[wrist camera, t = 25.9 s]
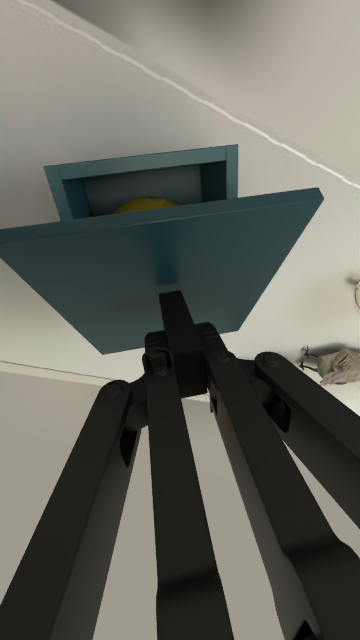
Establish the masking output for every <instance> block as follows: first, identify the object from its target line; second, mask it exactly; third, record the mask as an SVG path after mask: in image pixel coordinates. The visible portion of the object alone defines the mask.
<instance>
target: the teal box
mask: <svg viewBox="0 0 360 640" xmlns="http://www.w3.org/2000/svg"><path fill="white" fill-rule="evenodd" d="M44 170H45V173H46V176H47V179H48V182H49V185H50V188H51V191H52V194H53V197H54V201H55V204H56V207H57V210H58V213H59V216H60V219H61V221H67V220H75V219H82V218H90V217H97V216H105V215H111V214H112V213H114V212H115V211H116V210H117V209H118V208H119V207H120V206H122V205H123V204H125V203H126V202H129V201H131V200H133V199H137V198H140V197H162V198H165V199H168V200H170V201H172V202H174V203H176V204H178V205H179V206H181V205H188V204H196V203H203V202H211V201H219V200H226V199H234V198H237V196H238V144H236V145H227V146H218V147H210V148H201V149H192V150H183V151H174V152H166V153H157V154H148V155H139V156H130V157H122V158H113V159H104V160H95V161H86V162H78V163H69V164H60V165H51V166H44Z"/></svg>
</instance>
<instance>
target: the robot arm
mask: <svg viewBox="0 0 360 640" xmlns="http://www.w3.org/2000/svg"><path fill="white" fill-rule="evenodd" d="M158 295H159V302H160V308H161V314H162V321H163V327H164V330H161V331H155V332H149V333H147V335H146V337H145V338H144V341H145V353H144V354H143V356H142V362H143V366H144V371H145V373H144V374H143V376H142V377H140V378H139V379H138V380H136V381H134V382H132V383H128V382H126V381H124V380H114V381H111V382H109V383H107V384H106V385H104V386H103V387H102V388H101V390H100V391H99V393H98V395H97V398H96V400H95V402H94V404H93V406H92V408H91V410H90V413H89V415H88V417H87V419H86V422H85V424H84V426H83V428H82V430H81V432H80V434H79V437H78V439H77V441H76V443H75V445H74V447H73V449H72V452H71V454H70V456H69V458H68V460H67V462H66V464H65V467H64V469H63V471H62V473H61V476H60V478H59V480H58V482H57V484H56V486H55V488H54V490H53V493H52V495H51V497H50V499H49V501H48V504H47V506H46V508H45V510H44V512H43V514H42V516H41V519H40V521H39V523H38V525H37V527H36V529H35V532H34V534H33V536H32V538H31V540H30V542H29V545H28V547H27V549H26V551H25V553H24V555H23V558H22V560H21V562H20V564H19V566H18V568H17V570H16V573H15V575H14V577H13V579H12V581H11V583H10V586H9V588H8V590H7V592H6V595H5V596H4V599H3V601H2V603H1V605H0V640H92V639H93V635H94V631H95V626H96V622H97V618H98V614H99V609H100V605H101V601H102V597H103V592H104V588H105V584H106V580H107V575H108V571H109V567H110V563H111V558H112V554H113V550H114V545H115V541H116V537H117V533H118V528H119V524H120V520H121V516H122V511H123V507H124V503H125V499H126V494H127V489H128V486H129V482H130V477H131V473H132V469H133V464H134V460H135V456H136V452H137V447H138V443H139V439H140V435H141V428H143V427H145V426H147V425H148V428H149V445H150V462H151V478H152V494H153V510H154V527H155V541H156V542H155V543H156V558H157V559H156V560H157V576H158V588H157V595H156V616H157V617H156V619H157V640H234V636H233V632H232V627H231V623H230V618H229V614H228V609H227V604H226V600H225V596H224V591H223V587H222V583H221V579H220V576H219V573H218V569H217V564H216V560H215V555H214V551H213V546H212V541H211V537H210V532H209V528H208V523H207V518H206V513H205V509H204V504H203V499H202V495H201V490H200V485H199V481H198V476H197V471H196V467H195V463H194V457H193V453H192V448H191V444H190V439H189V434H188V429H187V425H186V420H185V415H184V411H183V406H182V402H181V398H186V397H191V396H196V395H201V394H206V393H207V388H208V391H209V394H210V409H211V412H214V415H215V418H216V421H217V424H218V427H219V430H220V433H221V436H222V439H223V442H224V445H225V448H226V451H227V454H228V457H229V460H230V463H231V466H232V470H233V473H234V475H235V479H236V482H237V485H238V487H239V491H240V494H241V497H242V499H243V502H244V505H245V509H246V512H247V515H248V518H249V520H250V524H251V527H252V530H253V533H254V536H255V539H256V542H257V545H258V548H259V551H260V554H261V557H262V560H263V563H264V566H265V569H266V572H267V575H268V578H269V581H270V584H271V587H272V591H273V596H274V602H275V607H276V611H277V615H278V619H279V622H280V626H281V629H282V632H283V635H284V638H285V640H360V558H359V557H358V556H357V554H356V553H355V552H354V551H353V550H352V549H351V547H349V546H348V545H346V544H345V543H343V542H342V541H340V540H339V539H338V538H337V536H336V535H335V533H334V532H333V530H332V529H331V527H330V525H329V523H328V522H327V520H326V518H325V516H324V515H323V512H322V511H321V509H320V507H319V505H318V504H317V502H316V500H315V498H314V496H313V495H312V493H311V491H310V489H309V487H308V485H307V484H306V482H305V480H304V478H303V476H302V475H301V473H300V471H299V469H298V467H297V466H296V464H295V462H294V460H293V458H292V457H291V455H290V453H289V451H288V450H287V448H286V446H285V444H284V442H285V443H286V444H287V446H288V447H289V448H290V449H291V450H292V451H293V452H294V454H295V455H296V456H297V457H298V458H299V459H300V461H301V462H302V463H303V464H304V465H305V466H306V467H307V469H308V470H309V471H310V472H311V473H312V474H313V476H314V477H315V478H316V479H317V480H318V481H319V482H320V484H321V485H322V486H323V487H324V488H325V489H326V491H327V492H328V493H329V494H330V495H331V496H332V498H333V499H334V500H335V501H336V502H337V503H338V504H339V506H340V507H341V508H342V509H343V510H344V511H345V513H346V514H347V515H348V516H349V517H350V518H351V520H352V521H353V522H354V523H355V524H356V525H357V526H358V528H359V529H360V416H358V415H357V414H356V413H355V412H353V411H352V410H351V409H349V408H348V407H347V406H346V405H344V404H343V403H342V402H340V401H339V400H338V399H337V398H335V397H334V396H333V395H332V394H330V393H329V392H328V391H326V390H325V389H324V388H323V387H321V386H320V385H319V384H317V383H316V382H315V381H314V380H312V379H311V378H310V377H308V376H307V375H306V374H305V373H303V372H302V371H301V370H300V369H298V368H297V367H296V366H294V365H293V364H292V363H291V362H289V361H288V360H287V359H285V358H284V357H283V356H281V355H279V354H278V353H274V352H262V353H260V354H258V355H257V356H256V357H255V360H243V359H238V358H236V356H235V355H234V354H233V353H231V352H229V351H228V350H227V348H226V346H225V344H224V343H223V341H222V339H221V337H220V335H219V333H218V332H217V329H216V328H215V326H214V325H213V324H211V323H210V322H204V323H198V324H194V321H193V319H192V317H191V314H190V312H189V309H188V307H187V304H186V302H185V299H184V297H183V294H182V292H181V290H179V291H172V292H166V293H160V294H158ZM283 441H284V442H283Z"/></svg>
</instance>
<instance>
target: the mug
mask: <svg viewBox="0 0 360 640" xmlns="http://www.w3.org/2000/svg"><path fill="white" fill-rule="evenodd" d="M356 287H357V290H356V301H357V303H358V305H359V306H360V282H359V283H358V284H357V285H356Z"/></svg>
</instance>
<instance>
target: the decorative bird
mask: <svg viewBox="0 0 360 640" xmlns="http://www.w3.org/2000/svg"><path fill="white" fill-rule="evenodd" d="M305 350H306V349H305ZM308 350H309V349H308V346H307V350H306V352H305V354H304V355H305V356H307V357H308V358H309V355H312V356H315V357H317V358H319V361H318V368H317V369H313V368H311V367H308V366H303V358H302V362H301V361H300V362H301V364H300V368H302V369H303V370H304V368H303V367H305V368H309V369H311V370H313V371H315V372H318V373H319V375H320V376H321V377H322V378H323V380H322V381H320V383H321V384H320V386H321V385H323V386H325V385H328V384H330V385H331V384H337V385H343V384H346V383H351V382H357V381H360V353H359V352H356V351H353V350H350V349H342V350H341V351H339V352H336V353H331V354H328V355H324V356H317V355H314V354H309V353H308ZM324 384H325V385H324Z"/></svg>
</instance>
